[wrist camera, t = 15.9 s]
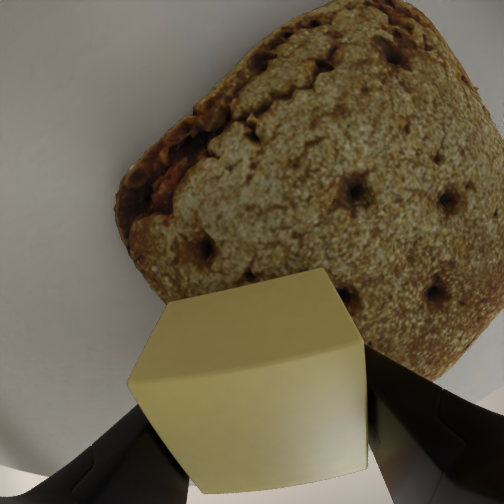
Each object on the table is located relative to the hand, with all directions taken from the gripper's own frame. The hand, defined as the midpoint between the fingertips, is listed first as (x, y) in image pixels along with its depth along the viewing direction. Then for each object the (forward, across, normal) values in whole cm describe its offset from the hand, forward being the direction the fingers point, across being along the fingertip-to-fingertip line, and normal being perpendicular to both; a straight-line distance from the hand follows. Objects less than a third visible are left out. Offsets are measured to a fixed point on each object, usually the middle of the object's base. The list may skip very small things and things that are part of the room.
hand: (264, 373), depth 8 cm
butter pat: (+1, 0, 0) cm, 1 cm away
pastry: (+4, -4, -2) cm, 7 cm away
